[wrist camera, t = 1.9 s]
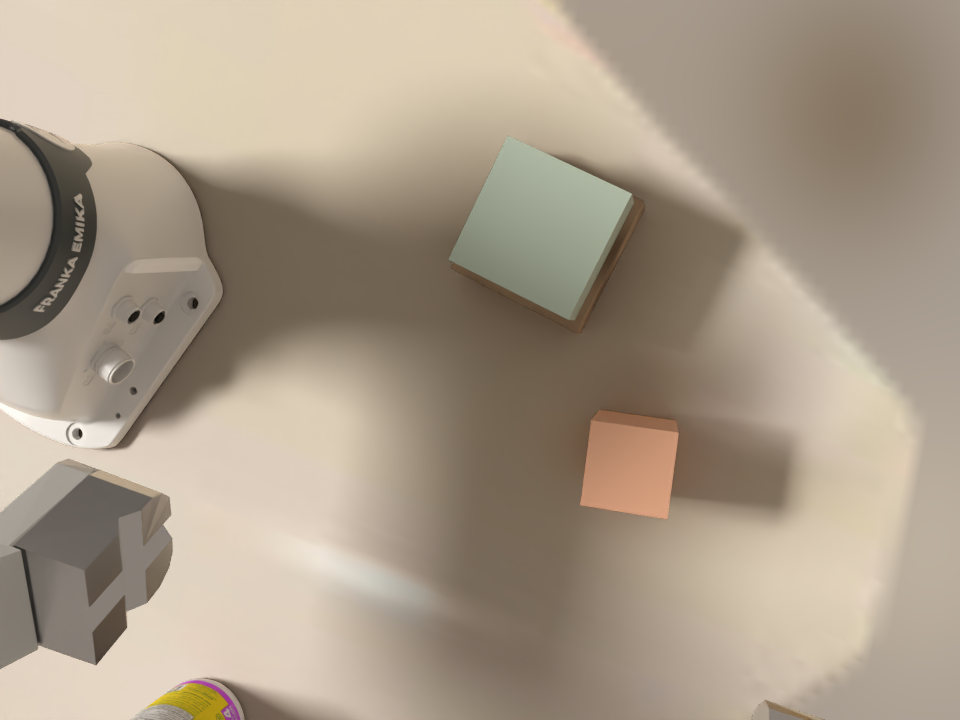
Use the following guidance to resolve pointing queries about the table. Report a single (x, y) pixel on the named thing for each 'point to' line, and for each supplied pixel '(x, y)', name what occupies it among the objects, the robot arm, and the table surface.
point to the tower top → (542, 228)
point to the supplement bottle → (194, 703)
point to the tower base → (596, 287)
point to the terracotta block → (630, 463)
